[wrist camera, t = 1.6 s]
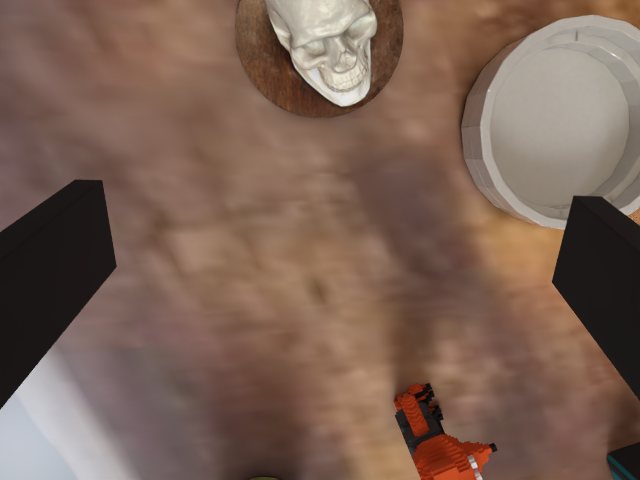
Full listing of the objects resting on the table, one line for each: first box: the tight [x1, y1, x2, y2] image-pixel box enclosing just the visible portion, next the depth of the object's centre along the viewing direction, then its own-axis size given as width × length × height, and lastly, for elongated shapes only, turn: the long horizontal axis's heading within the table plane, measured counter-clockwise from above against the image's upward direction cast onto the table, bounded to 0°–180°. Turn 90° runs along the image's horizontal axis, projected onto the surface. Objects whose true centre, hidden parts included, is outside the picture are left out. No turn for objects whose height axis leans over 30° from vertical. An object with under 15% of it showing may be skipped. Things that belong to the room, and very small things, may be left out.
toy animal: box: [394, 383, 497, 480], centre depth 37 cm, size 8×6×12 cm
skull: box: [236, 0, 403, 117], centre depth 36 cm, size 12×10×10 cm
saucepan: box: [461, 14, 640, 230], centre depth 38 cm, size 14×14×4 cm
